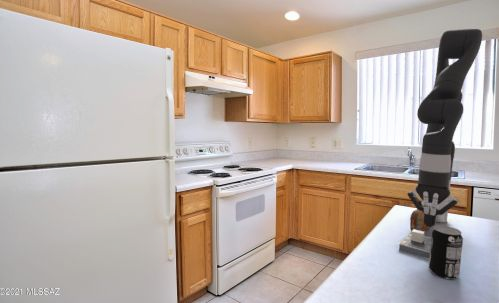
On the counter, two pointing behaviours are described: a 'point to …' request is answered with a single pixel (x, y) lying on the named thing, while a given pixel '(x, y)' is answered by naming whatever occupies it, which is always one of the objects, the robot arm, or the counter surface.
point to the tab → (417, 236)
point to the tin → (418, 221)
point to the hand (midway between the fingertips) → (429, 226)
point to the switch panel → (416, 246)
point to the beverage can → (446, 252)
